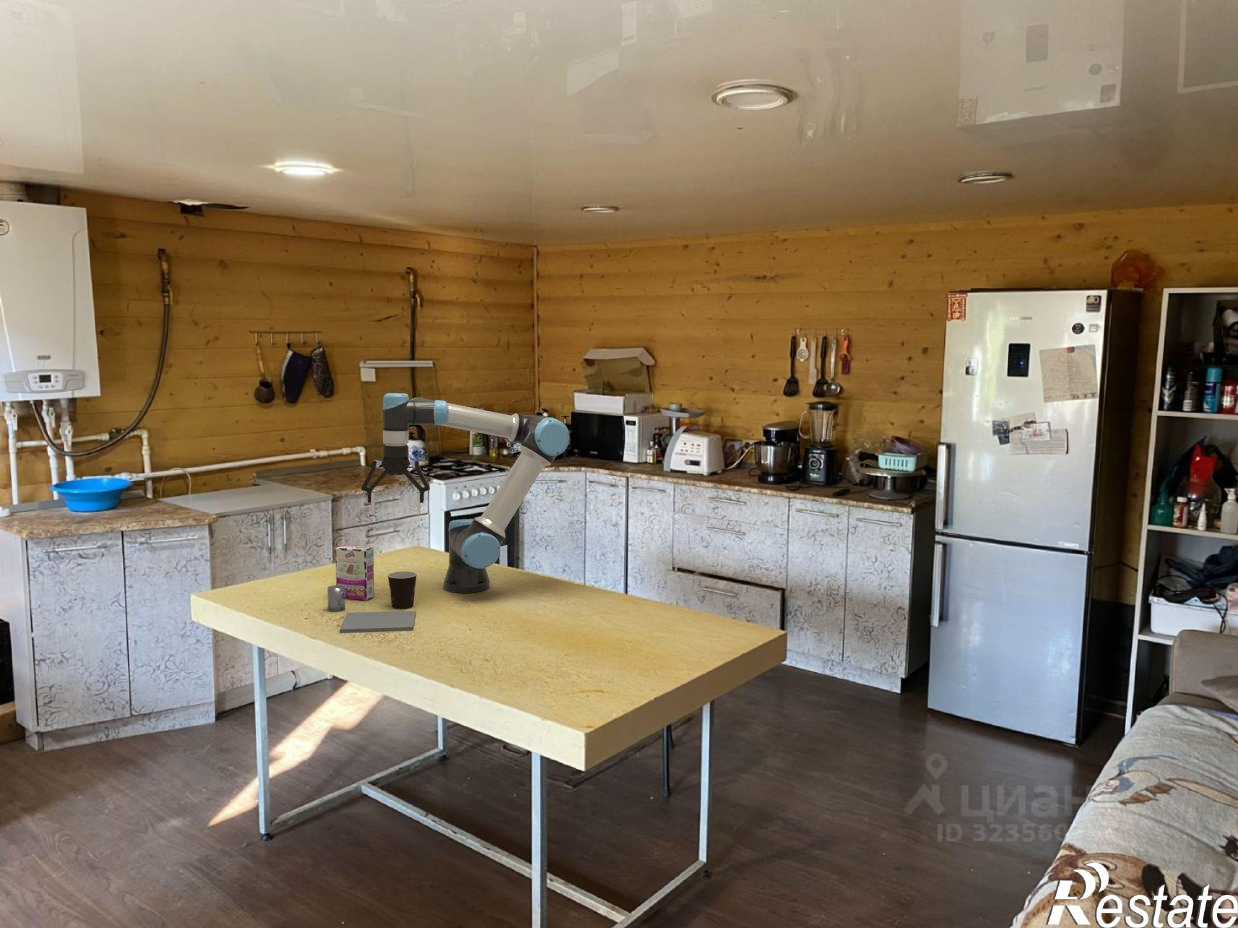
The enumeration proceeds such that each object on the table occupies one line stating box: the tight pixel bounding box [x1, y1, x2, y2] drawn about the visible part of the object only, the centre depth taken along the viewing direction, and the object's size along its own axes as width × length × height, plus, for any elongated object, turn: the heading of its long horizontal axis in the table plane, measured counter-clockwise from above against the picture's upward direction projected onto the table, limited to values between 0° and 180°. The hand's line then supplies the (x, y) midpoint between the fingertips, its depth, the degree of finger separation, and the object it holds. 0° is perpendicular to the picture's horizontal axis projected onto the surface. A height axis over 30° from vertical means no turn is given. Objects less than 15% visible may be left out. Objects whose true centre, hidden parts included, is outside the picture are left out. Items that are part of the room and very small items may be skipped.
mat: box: [339, 610, 417, 634], centre depth 259 cm, size 20×16×1 cm
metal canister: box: [327, 584, 346, 613], centre depth 271 cm, size 5×5×7 cm
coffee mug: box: [387, 570, 418, 610], centre depth 277 cm, size 12×9×10 cm
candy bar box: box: [335, 544, 375, 602], centre depth 284 cm, size 11×5×16 cm, turn 73°
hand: (396, 513), depth 274 cm, fingers open, 13 cm apart
